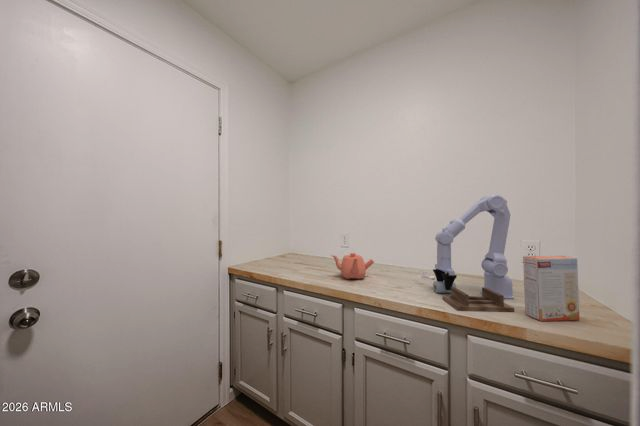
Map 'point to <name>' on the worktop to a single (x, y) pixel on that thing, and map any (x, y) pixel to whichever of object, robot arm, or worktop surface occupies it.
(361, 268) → the teapot
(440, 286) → the roll
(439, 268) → the robot arm
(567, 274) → the cracker box
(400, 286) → the worktop surface
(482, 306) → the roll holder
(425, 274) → the teacup and saucer
